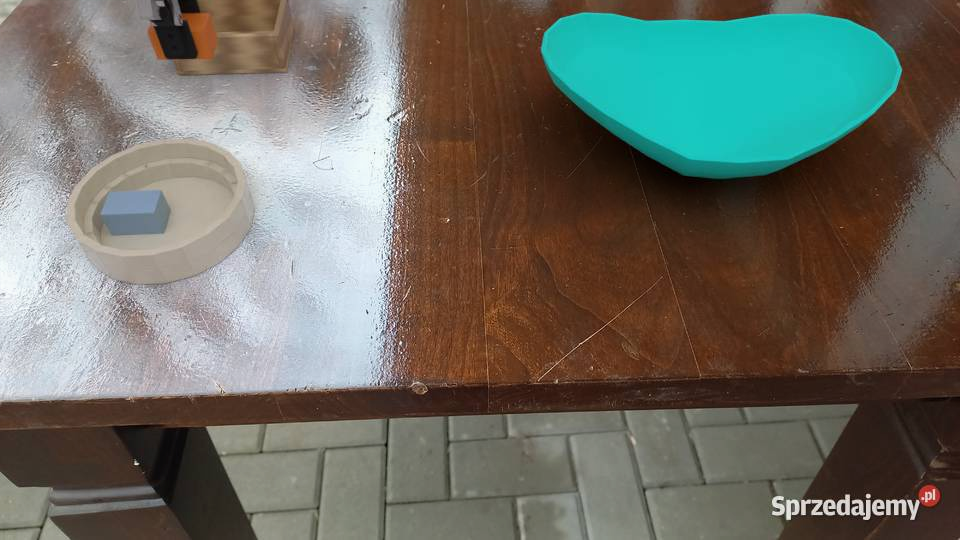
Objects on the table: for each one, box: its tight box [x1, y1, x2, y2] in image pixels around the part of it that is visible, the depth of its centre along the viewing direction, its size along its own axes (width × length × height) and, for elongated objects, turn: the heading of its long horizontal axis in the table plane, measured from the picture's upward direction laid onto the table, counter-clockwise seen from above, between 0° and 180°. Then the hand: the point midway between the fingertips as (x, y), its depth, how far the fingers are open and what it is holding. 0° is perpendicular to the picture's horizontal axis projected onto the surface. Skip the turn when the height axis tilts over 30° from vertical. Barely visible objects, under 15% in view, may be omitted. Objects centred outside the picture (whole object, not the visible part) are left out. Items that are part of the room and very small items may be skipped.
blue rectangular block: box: [100, 190, 171, 235], centre depth 74 cm, size 6×4×3 cm, turn 94°
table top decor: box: [540, 12, 903, 180], centre depth 82 cm, size 40×28×13 cm
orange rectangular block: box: [146, 13, 218, 61], centre depth 71 cm, size 6×4×3 cm, turn 93°
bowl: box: [66, 138, 256, 286], centre depth 74 cm, size 18×18×5 cm
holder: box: [172, 0, 296, 76], centre depth 96 cm, size 15×11×6 cm
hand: (186, 44), depth 72 cm, fingers closed on orange rectangular block, 3 cm apart
